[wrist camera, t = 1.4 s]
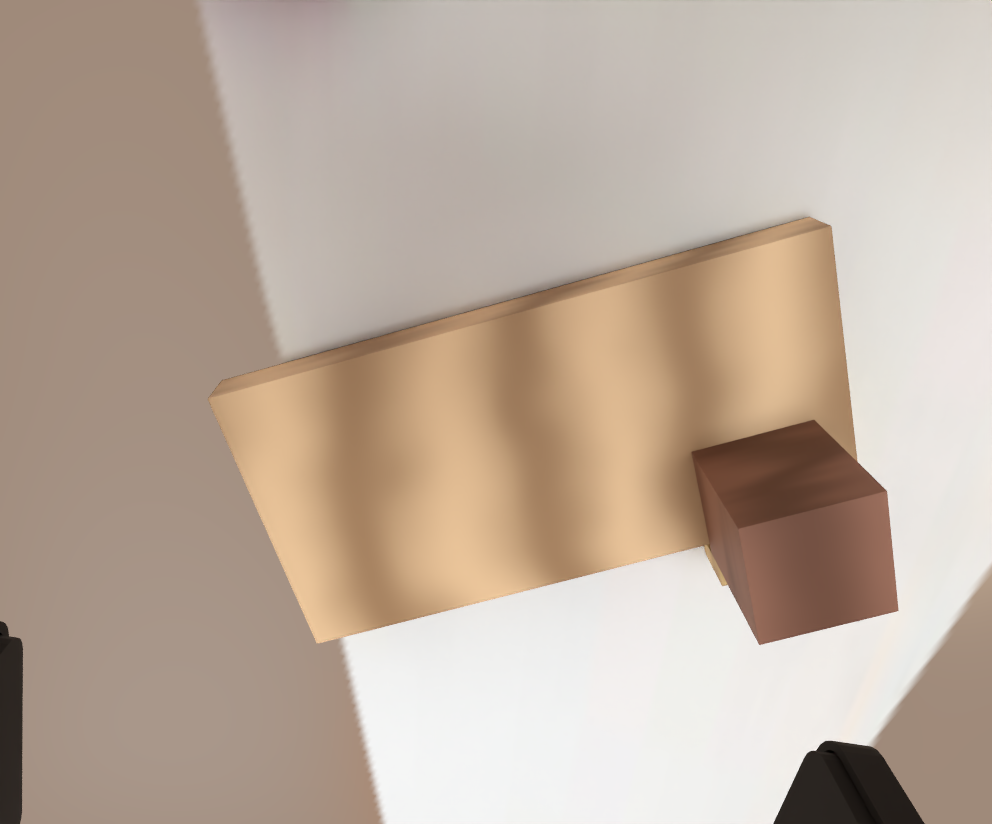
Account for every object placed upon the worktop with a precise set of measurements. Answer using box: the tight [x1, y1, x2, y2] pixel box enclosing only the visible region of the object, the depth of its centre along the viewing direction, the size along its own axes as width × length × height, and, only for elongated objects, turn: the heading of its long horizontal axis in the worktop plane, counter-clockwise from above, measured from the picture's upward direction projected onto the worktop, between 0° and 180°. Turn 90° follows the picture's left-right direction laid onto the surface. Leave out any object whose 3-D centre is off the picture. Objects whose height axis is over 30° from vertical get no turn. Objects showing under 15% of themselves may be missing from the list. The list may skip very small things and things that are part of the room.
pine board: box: [208, 217, 857, 643], centre depth 34 cm, size 24×12×2 cm, turn 105°
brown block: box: [691, 420, 898, 645], centre depth 32 cm, size 5×6×8 cm
